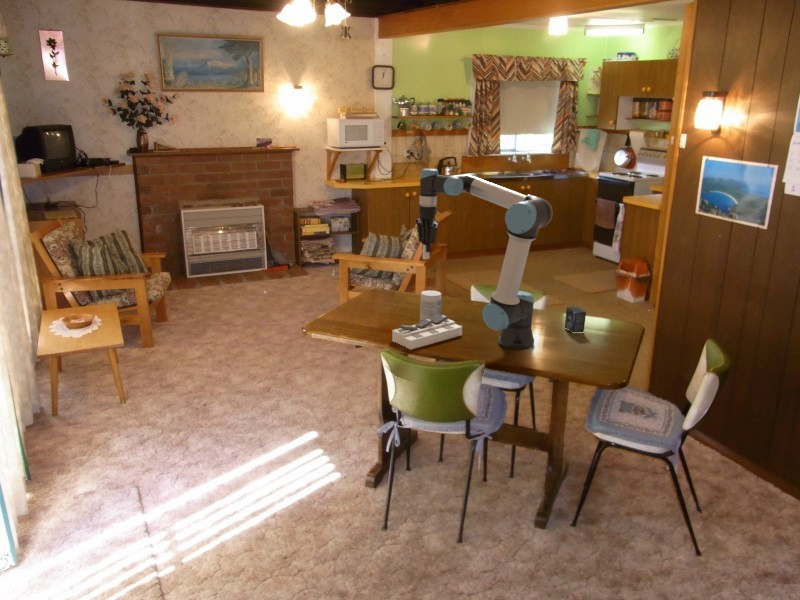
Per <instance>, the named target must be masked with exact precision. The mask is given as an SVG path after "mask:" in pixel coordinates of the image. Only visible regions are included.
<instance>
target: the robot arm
mask: <svg viewBox="0 0 800 600" xmlns="http://www.w3.org/2000/svg"><path fill="white" fill-rule="evenodd" d="M419 176H420V177H419V203H418V204H419V206H418V214H419V218H417V219H415V223H416V226H417V235H418V237H417V238H418V242H420V243H421V250H422V260H429V259H430V252H431V245H433V244H435V241H436V236H437V232H438V228H439V226H440V223H439V222H438V223H437V221H436V217H435V216H436V214H437V204H438V194H442V195H449V196H459V195H460V194H461V193H466V194H469V195H471V196H474V197H477V198H480V199H483V200H485V201H488V202H489V203H493V204H495V205H497V206H499V207H500V206H501V207H503V208H505V209H507V211H506V212H505V216H504V221H505V222H504V223H505V224H506V228H507V230H506V233H507V235H508V236H509V238H508V241H507V242H508V243H507V246H506V249H505V250H506V251H505V255H504V258H503V262H502V266H501V271H500V275H499V279H498V283H497V287H496V291H494V292H492V293H491V296H490V300H489V303H487V304H486V305H485V306H484V307H483V309H482V313H481V314H482V319H483V321H484V323H485V324H486V326H487V327H488V328H489V329H491V330H493V331H498V332H499V331H500V333H499V336H498V344H499V345H501V346H502V347H504V348H508V349H511V350H527V349H528V348H529V349H531V348H533V347H534V346H535V338H534V334H533V329H532V323H533V322H532V321H533V313H534V303H535V302H534V297H535V296H534V294H532V293H530V292H527V291H523V290H520V286H521V283H522V280H523V279H522V278H523V274H524V272H525V267H526V263H527V259H528V255H529V251H530V248H531V244H532V241H535V240H536V239H537V236H538V234H539V229H541V228H545V227H546V226H547V225H548V224H549V223H550V222H551V221H552V218H553V214H554V213H553V207H552V205H551V204H550V202H549V201H548V200H546V199H544V198H542V197H539V196H536V195H533V194H527V195H526V194H522V193H520V192H518V191H515V190H513V189H510V188H506V187H504V186H502V185H498V184H495V183H493V182H489V181H487V180H484V179H482V178H479V177H478V175H476V174H475V173H473V172H472V173H470V172H469V173H468V172H466V173H463V174H454V175H453V174H452V175H443V174H442V175H441V174H439V170H438V169H437V168H423V169H421V170H420V175H419ZM533 345H534V346H533ZM532 346H533V347H532ZM530 347H531V348H530Z"/></svg>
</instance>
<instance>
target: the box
mask: <svg viewBox="0 0 800 600" xmlns="http://www.w3.org/2000/svg"><path fill="white" fill-rule="evenodd" d="M586 315H587V311H585V310H583V309H582V308H580V307H579V306H567V307H566V311H565V320H564V329H565V328H567V329H569V330H570V331H572V332H583V331H584V332H585V326H586V325H585V323H586Z"/></svg>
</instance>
